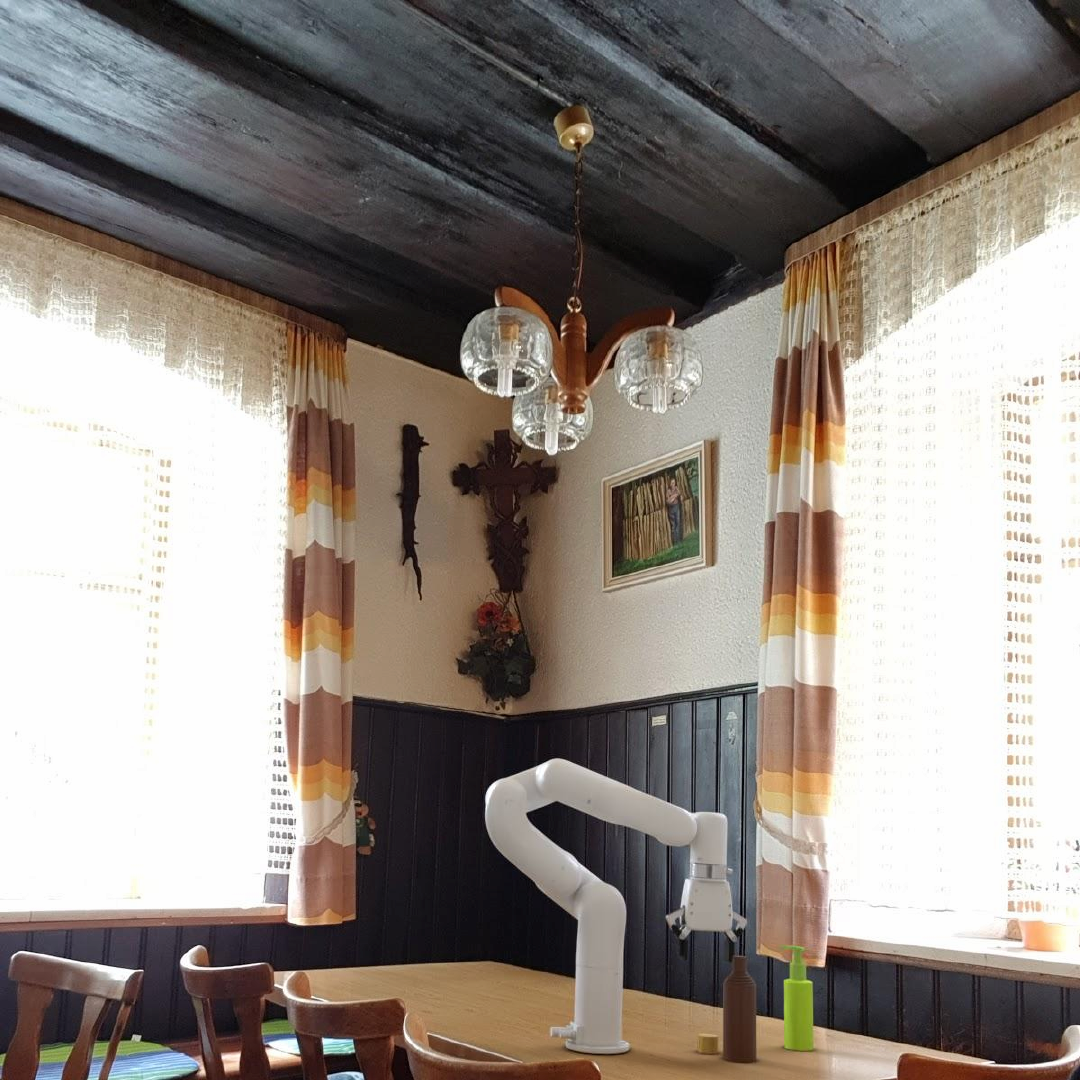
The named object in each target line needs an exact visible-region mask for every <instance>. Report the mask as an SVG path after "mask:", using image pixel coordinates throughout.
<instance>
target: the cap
mask: <svg viewBox="0 0 1080 1080" xmlns="http://www.w3.org/2000/svg"><path fill="white" fill-rule="evenodd" d="M697 1052H698V1053H700V1054H705V1055H706V1054H707V1055H716V1054H719V1053H718V1052H719V1035H717V1034H714V1033H698V1034H697Z"/></svg>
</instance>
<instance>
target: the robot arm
mask: <svg viewBox="0 0 1080 1080" xmlns="http://www.w3.org/2000/svg"><path fill="white" fill-rule="evenodd" d="M484 801H485V809H484V811H485V812H484V818H485V827H486V830H487V833H488V836H489V838H490V840H491V842H492V843H493V845H494V847H495V848H496V850H497V851H499V853H501V855H503V857H504V858H506V859H507V860H508V861H509V862H510V863H511V864H513V865H514V866H515V867H516V868H517V869H518V870H519V871H521V873H523V874H524V875H525V876H527V877H528V878H529V879H531V880H532V881H533V882H534V883H535V885H536V888H537V889H539V890H540V891H541V892H542V893H543V894H545V895H546V896H547V897H548V898H550V899H551V900H552V901H553V902H554V903H556V904H557V905H558V906H560V908H562V909H563V910H565V911H566V912H567V913H568V914H570V915H571V916H572V917H573V918H574V919H576V920H577V935H576V948H575V949H576V950H575V951H576V952H575V984H574V985H575V986H574V987H575V989H574V993H575V994H574V1019H573V1020H574V1021H570V1023H569V1024H567V1025H565V1027H564V1026H562V1027H561V1026H550V1031H549V1034H550V1038H560V1039H566V1040H565V1047H566V1048H567V1049H568V1050H570V1051H575V1052H578V1053H586V1054H598V1055H614V1054H622V1053H626V1052H628V1051H629V1050H630V1043H629V1042H628V1041H625V1040H623V1037H622V1036H623V992H624V949H625V934H626V925H627V906H626V903H625V899H624V897H623V895H622V893H621V892H620V891H619V890H618V888H617V887H615V886H613V885H611V884H609V883H607V882H605V881H603V880H601V878H600V877H598V876H596V875H595V874H594V873H593V872H591V871H590V870H589V869H588V868H586V867H585V866H584V865H583V864H581V863H580V862H579V861H578V860H577V859H576V857H575V856H574V855H573V854H572V853H570V852H568V851H567V850H564V849H563V848H561V847H560V846H559V845H558V844H556V843H555V842H553V841H552V840H551V839H550V838H548V836H546V835H545V834H544V833H542V832H541V831H540V830H539V829H538V828H536V826H534V825H533V824H532V822H531V821H530V820H529V818H528V816H527V813H529V812H532V811H534V810H537V809H539V808H543V807H545V806H548V805H550V804H552V803H555V802H559V803H561V804H563V805H565V806H568V807H570V808H573V809H576V810H578V811H580V812H582V813H584V814H588V815H589V816H592V817H594V818H597V819H598V820H602V821H604V822H607V823H610V824H614V825H618V826H619V825H620V826H623V827H628V828H630V829H633V830H636V831H639V832H641V833H644V834H647V835H648V836H651V837H654V838H656V840H657V841H659V843H661V844H663V845H665V846H670V847H684V846H687V845H690V848H689V849H690V850H689V878H685V880H684V883H683V887H682V888H683V889H682V895H681V900H680V901H681V902H680V907H679V908H677V909H676V910H674V911H672V912H670V913H668V914H666V915H665V919H666V922H667V925H668V926H669V930H670V931H671V932H672V933H673V935H674V936H675V938H676V939H677V941H676V942H677V943H676V945H677V946H676V947H677V948H676V955H677V956H678V959H679V960H682V961H688V950H689V948H688V947H689V941H688V939H687V937H688V935H689V934H690V933H691V932H692V931H700V932H702V931H703V932H721V933H722V935H723V936H724V937H725V939H724V940H723V961H724V962H727V963H733V956H735V942H737V940H738V939H739V938H740V937H741V936H742V934H743V933H744V930H745V928H746V926H747V925H748V919H746V917H743V916H742V915H740V914H738V913H737V912H736V911H734V910H733V899H732V891H731V885H730V882H729V881H727V879H728V877H730V876H733V873H734V871H733V868H729V867H728V865H727V863H728V861H727V860H728V858H727V857H728V825H729V824H728V818H727V816H726V815H725V814H724V813H721V812H712V811H696V812H689V811H688V810H686V809H685V808H683V807H680V806H677V805H675V804H673V803H670V802H668V801H666V800H663V799H661V798H658V797H657V796H653V795H651V794H648V793H645V792H643V791H641V790H638V789H636V788H634V787H632V786H630V785H628V784H625V783H622V782H620V781H618V780H615V779H613V778H610V777H608V776H605V775H603V774H600V773H598V772H596V771H593V770H591V769H588V768H586V767H584V766H581V765H580V764H576V763H574V762H572V761H570V760H567V759H563V758H559V757H557V758H552V759H549V760H548V761H546V762H543V763H541V764H539V765H536V766H534V767H532V768H529V769H526V770H523V771H521V772H519V773H516V774H513V775H510V776H507V777H503V778H499V779H498V780H496V781H494V782H493V783H492V784H491V785H489V787H488V788H487V791H486V793H485V798H484ZM678 918H679V925H680V927H679V926H678V925H677V923H676V920H677V919H678ZM733 920H734V921H736V923H737V924H736V927H735V928H734V929H733V930H732V928H733Z"/></svg>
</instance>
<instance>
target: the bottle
mask: <svg viewBox="0 0 1080 1080" xmlns="http://www.w3.org/2000/svg"><path fill="white" fill-rule="evenodd" d="M747 960H748V957H747V956H745V955H734V956H733V958H732V971H730V973H729V974H728V976H726V978H725V979H724V981H723V982H722V989H723V990H722V994H723V995H722V1059H723V1060H725V1061H727V1062H733V1063H741V1064H742V1063H745V1064H746V1063H747V1064H749V1063H755V1062H756V1061H757V983H756V981H755V980H754V979H753V977H751V975H750V974H749V972H748V971H747Z"/></svg>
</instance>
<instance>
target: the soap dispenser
mask: <svg viewBox="0 0 1080 1080" xmlns="http://www.w3.org/2000/svg"><path fill="white" fill-rule="evenodd" d="M778 949H779V950H793V960H792V961H791V962H789V978H786V979H783V1033H784V1034H783V1041H784V1045H783V1047H784V1049H787V1050H791V1051H797V1052H798V1051H799V1052H810V1051H811V1052H812V1051H813V1050H814V1047H815V1046H814V990H813V983H814V982H813V981H811V980H808V979H807V963H805V962H804V961H803V952H804V951H807V949H806V947H805V946H804V947H803V946H799V945H791V944H790V945H783V946H779V947H778Z"/></svg>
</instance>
